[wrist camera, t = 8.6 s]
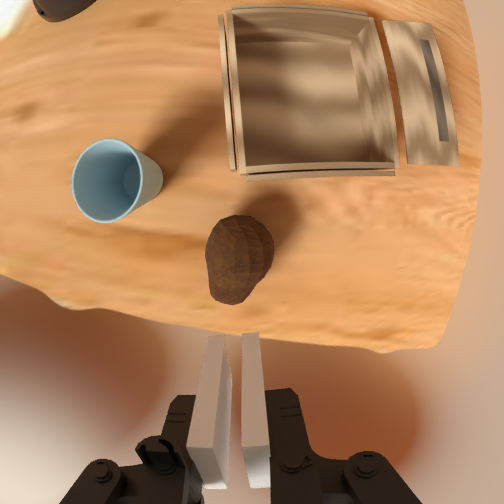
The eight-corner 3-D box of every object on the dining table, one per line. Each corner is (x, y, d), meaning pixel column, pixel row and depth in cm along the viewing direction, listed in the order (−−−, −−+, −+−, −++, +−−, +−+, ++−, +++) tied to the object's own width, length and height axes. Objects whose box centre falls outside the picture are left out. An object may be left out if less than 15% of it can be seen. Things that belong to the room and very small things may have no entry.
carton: (222, 38, 28) (217, 6, 20) (349, 39, 28) (371, 13, 21) (234, 183, 33) (230, 182, 25) (369, 176, 33) (400, 176, 25)
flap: (381, 19, 20) (430, 23, 18) (381, 22, 21) (429, 25, 19) (408, 163, 24) (459, 166, 22) (407, 164, 25) (457, 166, 23)
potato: (205, 285, 36) (195, 312, 28) (213, 207, 34) (204, 214, 26) (263, 292, 36) (267, 321, 28) (275, 215, 34) (284, 225, 26)
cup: (162, 139, 31) (130, 124, 21) (180, 198, 33) (153, 206, 23) (109, 162, 32) (64, 158, 22) (126, 218, 34) (85, 233, 23)
